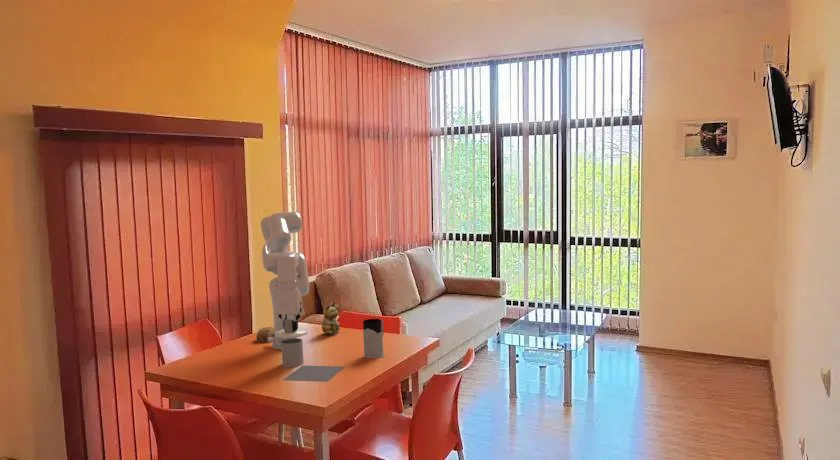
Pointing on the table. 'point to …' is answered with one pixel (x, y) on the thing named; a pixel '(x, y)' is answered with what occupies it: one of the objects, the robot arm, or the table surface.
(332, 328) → the decorative figurine
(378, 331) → the glass holder
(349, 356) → the table surface
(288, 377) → the mat
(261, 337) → the bread roll
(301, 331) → the lid
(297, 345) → the cup
